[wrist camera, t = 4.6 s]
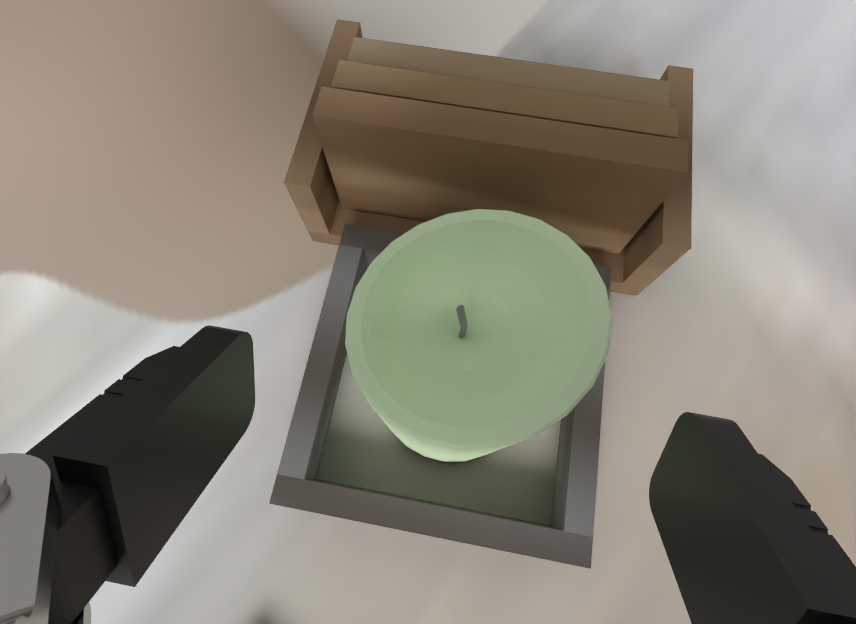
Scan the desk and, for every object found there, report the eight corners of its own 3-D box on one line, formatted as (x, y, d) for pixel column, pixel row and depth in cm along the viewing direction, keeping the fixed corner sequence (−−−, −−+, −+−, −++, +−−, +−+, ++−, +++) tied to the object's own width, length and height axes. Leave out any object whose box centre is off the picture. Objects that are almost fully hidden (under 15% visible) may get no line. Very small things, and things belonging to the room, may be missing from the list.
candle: (353, 428, 16) (281, 381, 8) (410, 295, 17) (395, 149, 10) (497, 486, 15) (569, 497, 8) (544, 344, 17) (643, 230, 9)
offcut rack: (353, 101, 20) (326, -33, 15) (644, 144, 19) (724, 19, 14) (239, 491, 15) (139, 499, 10) (623, 569, 15) (734, 622, 9)
